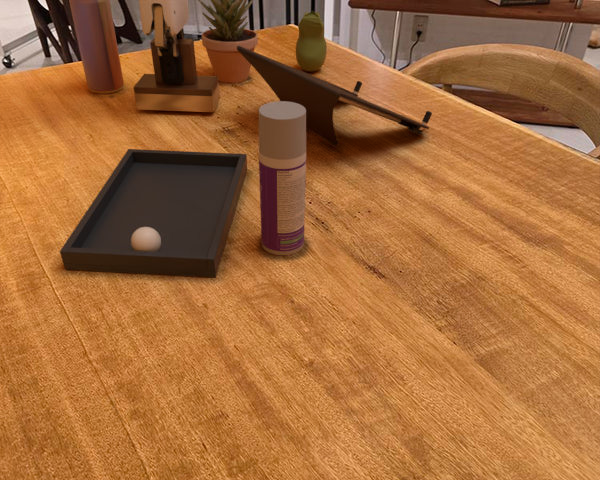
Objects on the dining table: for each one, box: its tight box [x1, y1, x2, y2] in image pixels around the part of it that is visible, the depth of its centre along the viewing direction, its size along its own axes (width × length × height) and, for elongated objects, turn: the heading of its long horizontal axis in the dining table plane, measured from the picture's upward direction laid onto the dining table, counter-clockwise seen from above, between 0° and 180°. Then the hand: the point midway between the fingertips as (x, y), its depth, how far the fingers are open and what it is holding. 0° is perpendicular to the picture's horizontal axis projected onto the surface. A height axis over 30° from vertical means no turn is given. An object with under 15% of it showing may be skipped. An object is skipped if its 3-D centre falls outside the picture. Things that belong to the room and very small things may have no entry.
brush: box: [133, 37, 221, 113], centre depth 91 cm, size 12×6×10 cm, turn 86°
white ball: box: [131, 227, 161, 252], centre depth 60 cm, size 3×3×3 cm
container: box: [258, 100, 307, 256], centre depth 60 cm, size 5×5×15 cm
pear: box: [295, 10, 328, 73], centre depth 105 cm, size 6×5×10 cm
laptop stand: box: [237, 46, 433, 147], centre depth 86 cm, size 23×23×9 cm
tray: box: [59, 148, 248, 278], centre depth 68 cm, size 16×24×2 cm, turn 176°
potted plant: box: [197, 0, 259, 84], centre depth 98 cm, size 10×10×25 cm
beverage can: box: [68, 0, 125, 95], centre depth 95 cm, size 6×6×15 cm
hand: (175, 77), depth 91 cm, fingers closed on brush, 2 cm apart
